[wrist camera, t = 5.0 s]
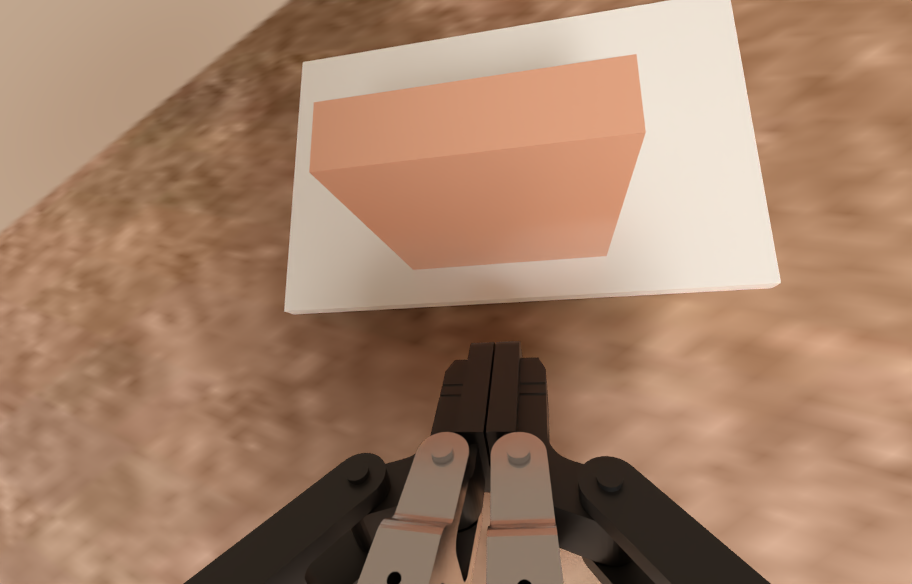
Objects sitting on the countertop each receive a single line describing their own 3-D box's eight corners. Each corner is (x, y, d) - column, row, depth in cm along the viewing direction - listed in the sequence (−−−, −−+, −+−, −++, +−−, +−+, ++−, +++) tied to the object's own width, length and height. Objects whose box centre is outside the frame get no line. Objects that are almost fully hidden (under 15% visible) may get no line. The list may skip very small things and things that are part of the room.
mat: (293, 314, 22) (284, 311, 21) (310, 72, 25) (302, 62, 24) (771, 288, 18) (780, 282, 17) (722, 5, 21) (728, -10, 20)
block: (413, 269, 21) (309, 172, 12) (413, 220, 21) (314, 94, 13) (606, 256, 19) (645, 132, 10) (601, 203, 20) (635, 44, 11)
